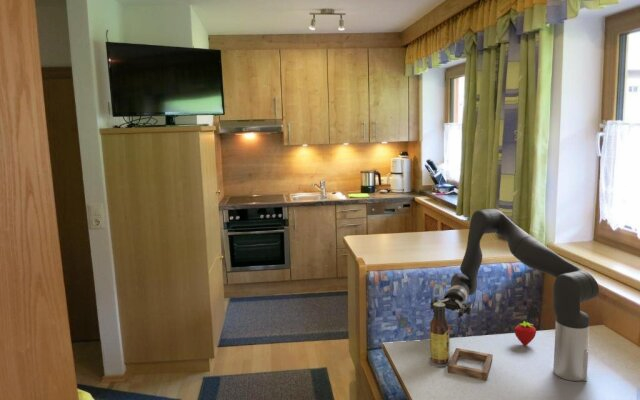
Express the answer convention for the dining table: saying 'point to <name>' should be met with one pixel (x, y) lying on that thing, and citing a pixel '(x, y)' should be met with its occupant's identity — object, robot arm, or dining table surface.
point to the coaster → (438, 364)
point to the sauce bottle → (439, 335)
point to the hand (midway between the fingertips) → (447, 313)
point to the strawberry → (525, 332)
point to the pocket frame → (469, 371)
